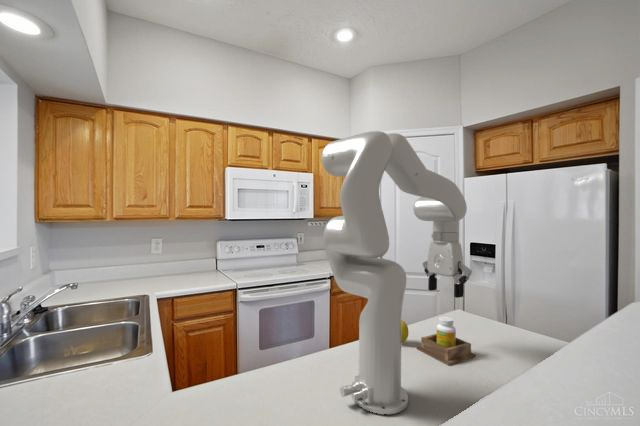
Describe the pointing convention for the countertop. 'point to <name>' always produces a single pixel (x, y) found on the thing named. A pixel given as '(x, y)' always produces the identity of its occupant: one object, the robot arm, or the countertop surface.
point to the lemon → (404, 331)
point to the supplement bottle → (446, 332)
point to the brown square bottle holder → (446, 350)
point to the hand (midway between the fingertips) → (445, 293)
